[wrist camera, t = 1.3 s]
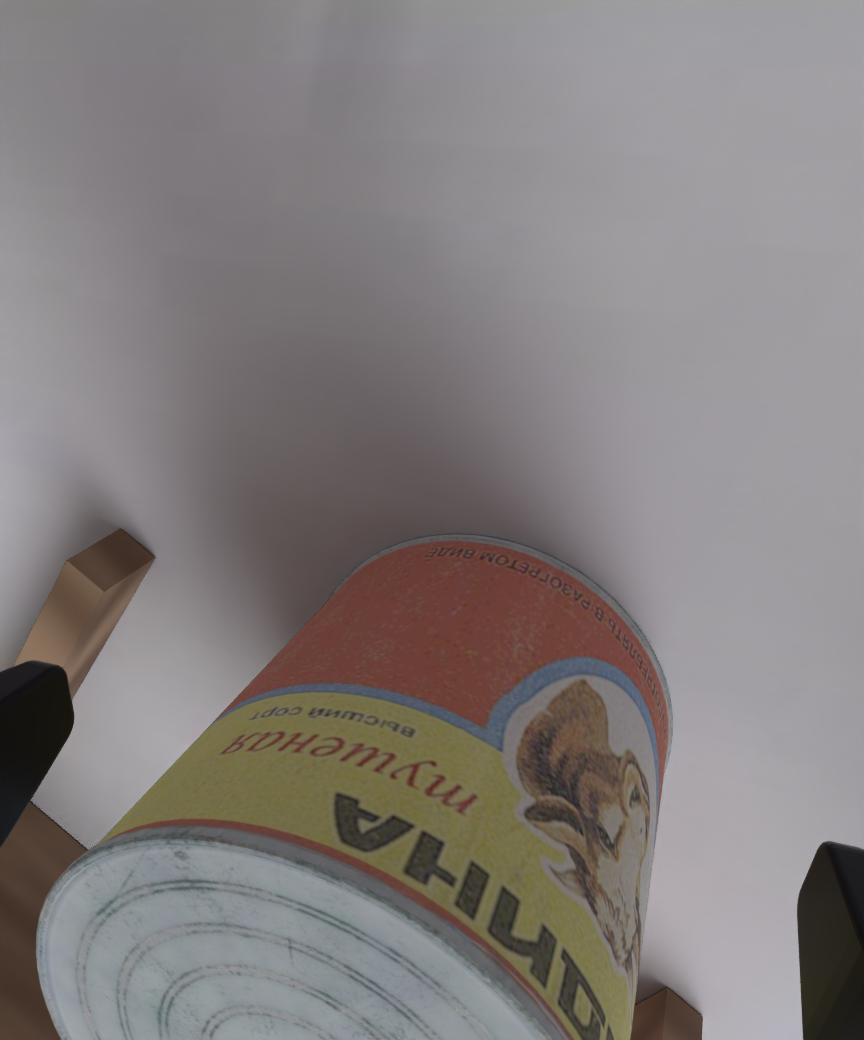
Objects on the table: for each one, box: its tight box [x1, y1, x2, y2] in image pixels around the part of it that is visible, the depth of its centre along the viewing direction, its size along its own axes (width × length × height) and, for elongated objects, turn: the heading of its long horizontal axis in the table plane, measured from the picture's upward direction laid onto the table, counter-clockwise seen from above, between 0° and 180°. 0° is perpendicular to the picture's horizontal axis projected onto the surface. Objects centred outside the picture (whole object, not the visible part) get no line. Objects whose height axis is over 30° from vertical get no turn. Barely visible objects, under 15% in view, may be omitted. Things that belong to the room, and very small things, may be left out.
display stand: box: [0, 529, 703, 1040], centre depth 27 cm, size 17×25×10 cm
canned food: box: [36, 534, 673, 1040], centre depth 20 cm, size 11×11×12 cm
